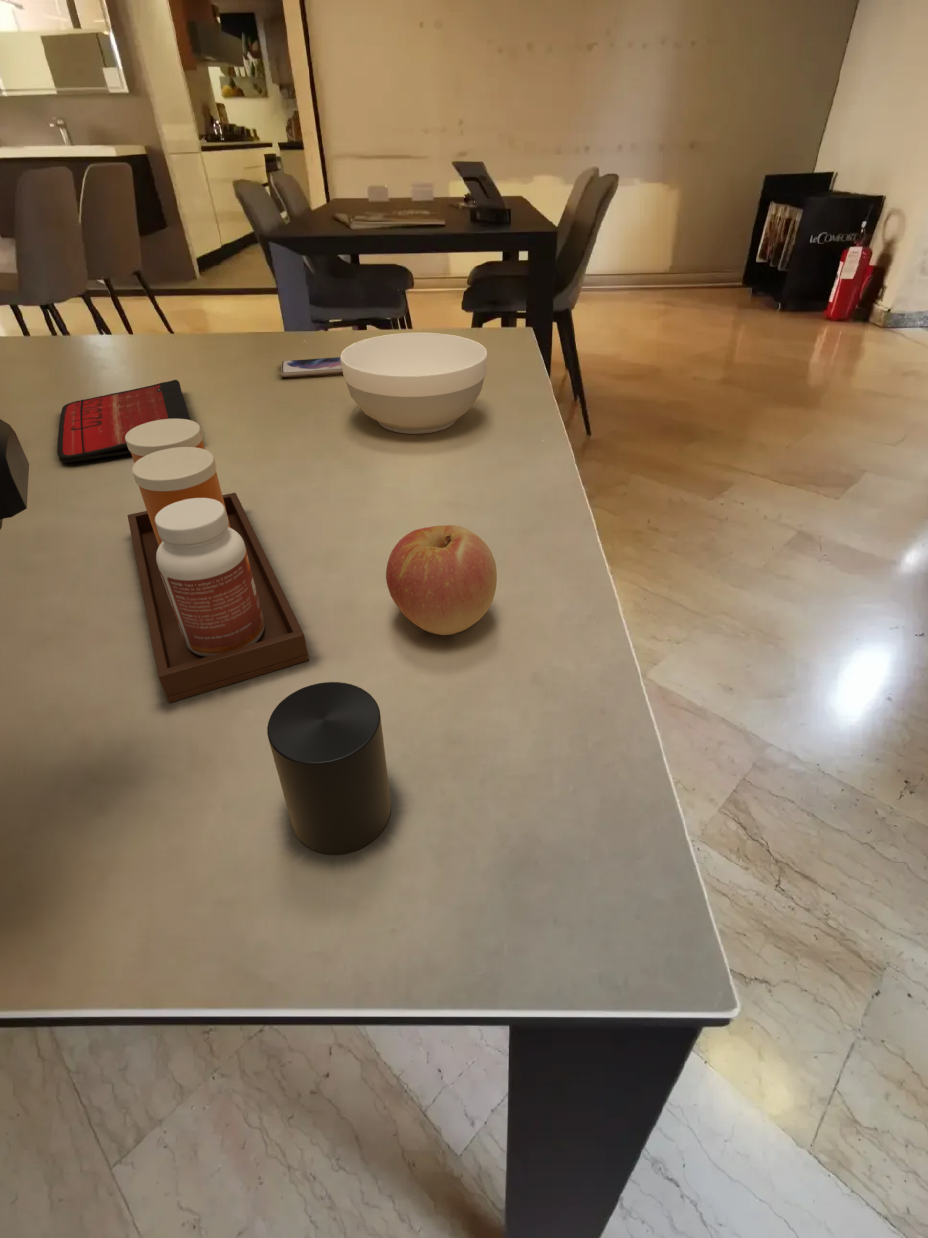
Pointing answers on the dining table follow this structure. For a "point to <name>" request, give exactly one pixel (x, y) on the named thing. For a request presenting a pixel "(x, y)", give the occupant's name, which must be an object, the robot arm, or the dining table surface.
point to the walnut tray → (201, 674)
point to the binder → (114, 420)
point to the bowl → (415, 379)
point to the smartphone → (311, 367)
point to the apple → (442, 578)
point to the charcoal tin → (331, 765)
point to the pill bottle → (207, 577)
